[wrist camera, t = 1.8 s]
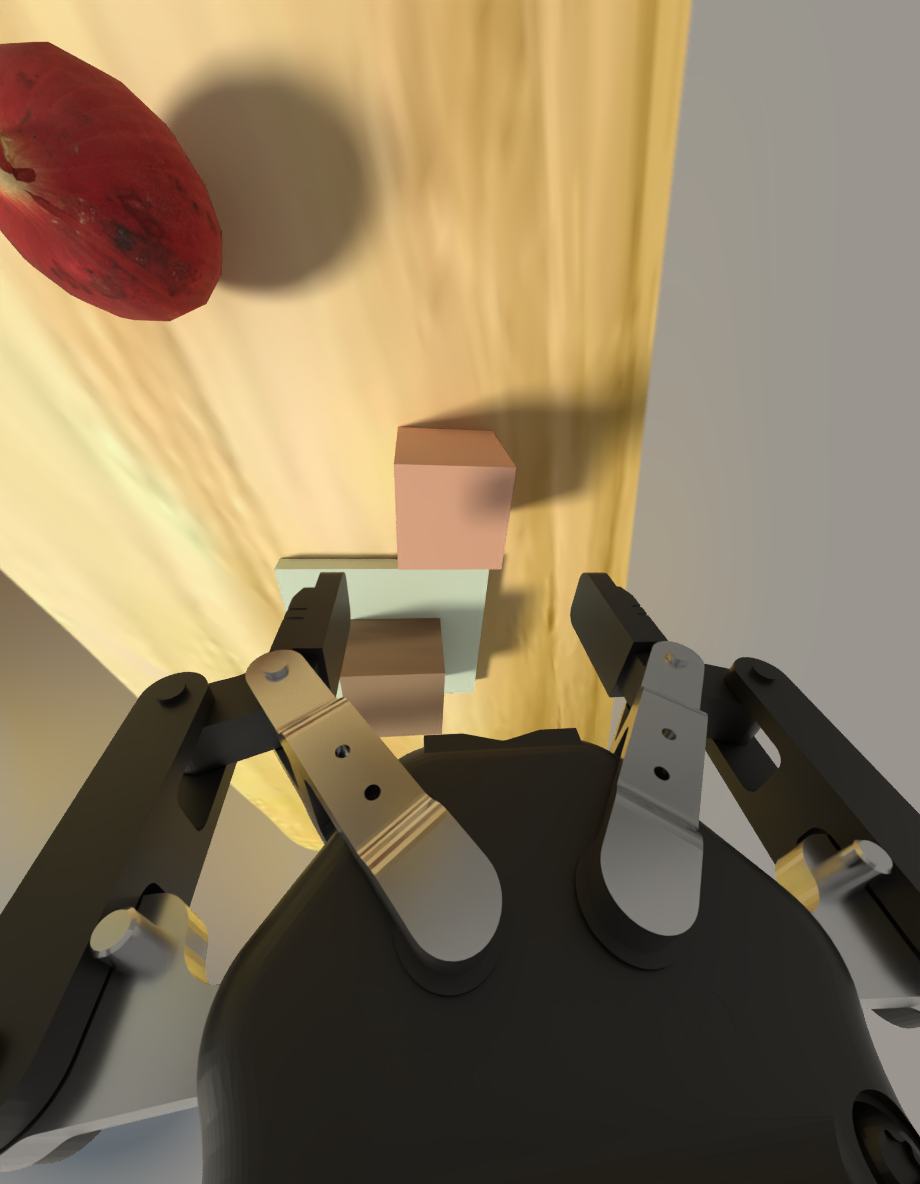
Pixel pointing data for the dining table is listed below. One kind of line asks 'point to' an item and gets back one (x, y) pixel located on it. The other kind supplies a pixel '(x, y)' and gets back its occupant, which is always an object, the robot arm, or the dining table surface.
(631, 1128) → the robot arm
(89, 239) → the red oval piece
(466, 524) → the terracotta block
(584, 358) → the dining table surface
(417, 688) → the walnut block
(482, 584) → the sage board
